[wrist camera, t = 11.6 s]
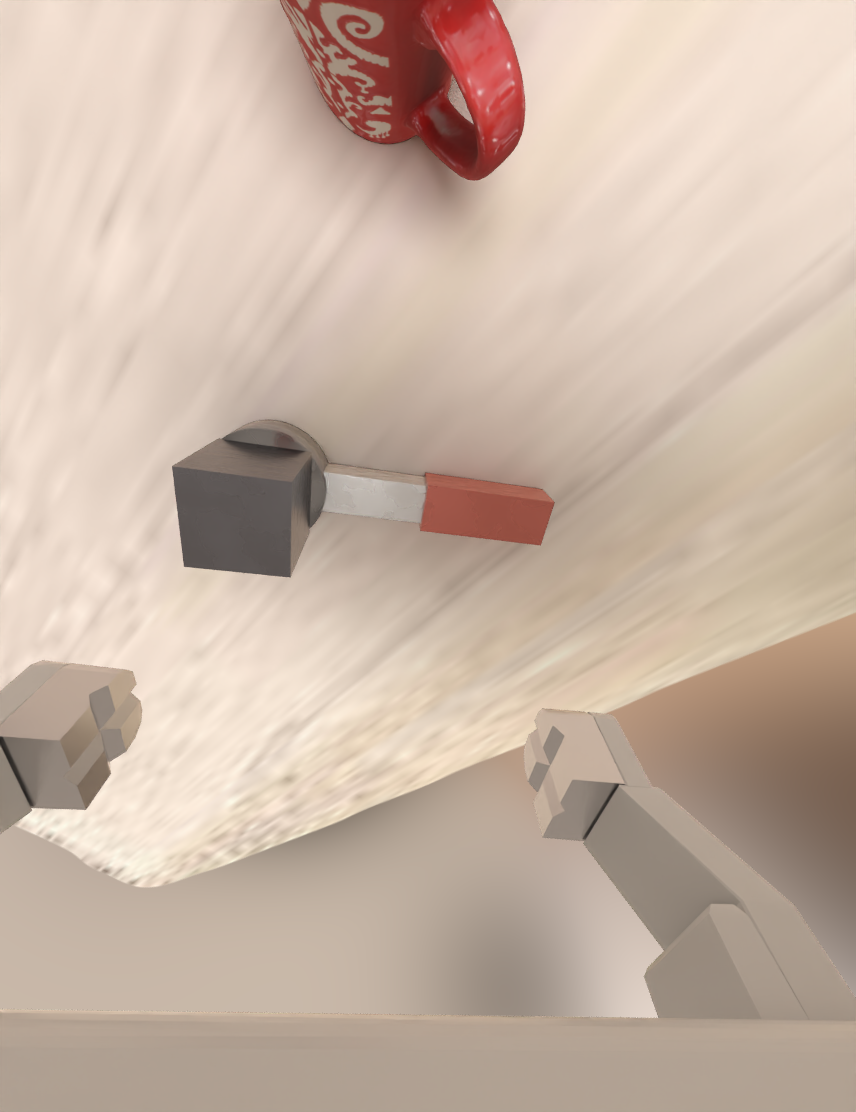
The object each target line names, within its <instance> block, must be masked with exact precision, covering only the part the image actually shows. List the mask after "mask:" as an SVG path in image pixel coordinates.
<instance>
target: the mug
mask: <svg viewBox="0 0 856 1112" xmlns="http://www.w3.org/2000/svg"><path fill="white" fill-rule="evenodd" d="M280 2H281V5H282V7H283V9H284V11H285V13H286V15H287V17H288V19H289V21H290V24H291V26H292V28H293V31H294V33H295V35H296V37H297V39H298V42H299V44H300V46H301V49H302V51H303V53H304V56H305V58H306V60H307V63H308V65H309V68H310V70H311V73H312V75H313V78H314V80H315V82H316V84H317V86H318V88H319V90H320V92H321V94H322V96H323V98H324V99H325V101H326V103H327V104H328V106H329V107H330V109H331V110H332V112H333V113H334V114H335V115H336V116H337V118H338V119H339V120H340V121H341V122H342V123H343V124H344V125H345V126H346V127H348V128H349V129H350V130H352V131H353V132H354V133H355V134H357V135H359V136H361V137H363V138H365V139H367V140H370V141H373V142H378V143H385V144H393V143H398V142H402V141H405V140H408V139H410V138H412V137H413V136H415V135H418V136H419V137H420V138H421V139H422V140H423V142H424V143H425V144H426V146H427V147H428V148H429V149H430V150H431V151H432V152H433V153H434V154H435V155H436V156H437V157H438V158H439V159H440V160H441V161H442V162H443V163H445V164H446V165H447V166H448V167H449V168H450V169H452V170H453V171H454V172H456V173H457V174H458V175H460V176H461V177H463V178H465V179H468V180H474V181H475V180H480V179H482V178H484V177H486V176H488V175H489V174H490V173H492V172H493V171H494V170H495V169H496V168H497V167H498V166H499V165H500V164H501V163H502V162H503V161H504V160H505V159H506V158H507V157H508V156H509V155H510V154H511V153H512V152H513V150H514V149H515V147H516V146H517V144H518V142H519V140H520V137H521V135H522V131H523V126H524V119H525V95H524V87H523V81H522V75H521V71H520V67H519V63H518V59H517V56H516V52H515V49H514V45H513V43H512V40H511V37H510V35H509V32H508V30H507V28H506V26H505V24H504V22H503V20H502V17H501V15H500V13H499V11H498V9H497V7H496V6H495V4H494V2H493V0H280ZM453 77H454V78H455V80H456V82H457V84H458V86H459V88H460V90H461V92H462V94H463V96H464V99H465V101H466V104H467V107H468V110H469V112H470V114H471V117H472V120H473V123H474V125H473V124H472V123H471V122H469V121H468V120H466V119H465V118H464V117H463V116H462V115H461V114H460V113H459V112H458V111H457V110H456V109H455V108H454V107H453V105H452V104H451V102H450V101H449V99H448V97H447V94H448V92H449V89H450V86H451V84H452V81H453Z"/></svg>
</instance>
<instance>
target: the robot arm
mask: <svg viewBox="0 0 856 1112" xmlns="http://www.w3.org/2000/svg"><path fill="white" fill-rule="evenodd" d="M135 686H136V681H135V677H134V674H133V672H132V671H129V670H124V669H116V668H108V667H99V666H91V665H82V664H74V663H62V662H53V661H45V660H42V661H39V662H37V663H34V664H32V665H30V666H29V667H28V668H27V669H25V670H24V671H23V672H22V673H21V674H20V675H18V676H17V677H16V678H15V679H14V680H13V681H11V682H10V683H9V684H8V685H7V686H6V687H5V688H3V689H2V690H1V691H0V834H1V833H2V832H4V831H5V830H6V829H8V828H9V827H11V826H12V825H13V824H15V823H16V822H17V821H19V820H20V819H22V818H23V817H24V816H26V815H27V814H28V813H30V812H31V811H32V809H31V808H49V809H80V810H86V809H87V807H88V806H89V805H90V803H91V802H92V800H93V799H94V797H95V796H96V794H97V793H98V792H99V790H100V789H101V787H102V786H103V784H104V783H105V781H106V780H107V779H108V777H109V776H110V774H111V770H110V761H112V760H113V759H115V758H116V757H118V756H120V755H121V754H123V753H124V752H126V751H127V749H128V748H129V746H130V745H131V743H132V742H133V740H134V739H135V737H136V734H137V731H138V729H139V726H140V723H141V718H142V707H141V702H140V700H139V699H138V698H136V697H135V696H134V695H133V694H132V693H131V691H132V689H133V688H134V687H135ZM535 723H536V727H537V730H535V731H534V732H532V733H531V734H529V735H528V738H527V741H526V744H525V750H524V764H525V772H526V776H527V780H528V782H529V783H530V785H531V786H532V787H533V788H534V789H535V790H536V791H537V792H538V793H537V796H536V798H535V800H534V803H533V804H534V808H535V812H536V815H537V819H538V823H539V827H540V831H541V834H542V837H544V838H555V839H566V840H578V841H584V843H583V844H584V845H585V846H586V848H587V849H588V851H589V852H590V853H591V854H592V856H593V857H594V858H595V860H596V861H597V862H598V864H599V865H600V866H601V868H602V869H603V870H604V872H605V873H606V874H607V876H608V877H609V878H610V880H611V881H612V882H613V883H614V885H615V886H616V888H617V889H618V890H619V892H620V893H621V894H622V896H623V897H624V898H625V900H626V901H627V902H628V904H629V905H630V906H631V907H632V909H633V910H634V911H635V913H636V914H637V915H638V917H639V918H640V919H641V921H642V922H643V923H644V925H645V926H646V927H647V929H648V930H649V931H650V933H651V934H652V935H653V936H654V938H655V939H656V941H657V942H658V943H659V944H660V946H661V947H662V948H663V950H664V952H663V953H662V954H661V955H660V956H659V957H658V958H657V959H656V960H655V961H654V962H653V963H652V964H651V965H650V966H649V967H648V968H647V971H646V973H645V975H644V978H645V981H646V983H647V986H648V989H649V992H650V995H651V998H652V1001H653V1003H654V1006H655V1009H656V1012H657V1015H658V1018H622V1017H548V1016H543V1017H542V1016H475V1015H474V1016H473V1015H401V1014H399V1015H398V1014H395V1015H394V1014H327V1013H326V1014H325V1013H324V1014H323V1013H322V1014H321V1013H253V1012H250V1013H249V1012H179V1011H178V1012H177V1011H103V1010H33V1009H32V1010H31V1009H0V1112H856V997H855V996H854V995H853V993H852V991H851V990H850V988H849V987H848V985H847V984H846V982H845V981H844V979H843V978H842V977H841V975H840V973H839V972H838V970H837V969H836V967H835V966H834V964H833V963H832V961H831V960H830V958H829V957H828V955H827V954H826V952H825V951H824V949H823V948H822V946H821V945H820V943H819V942H818V940H817V939H816V937H815V936H814V934H813V933H812V931H811V930H810V928H809V926H808V925H807V924H806V922H805V920H804V919H803V918H802V916H801V915H800V913H799V911H798V910H797V908H796V907H795V906H794V905H793V904H792V903H791V902H790V901H789V900H788V899H787V898H785V897H784V896H783V895H782V894H781V893H779V891H777V890H776V889H775V888H774V887H773V886H772V885H770V884H769V883H768V882H767V881H766V880H765V879H763V878H762V877H761V876H760V875H759V874H758V873H757V872H755V871H754V870H753V869H752V868H751V867H750V866H749V865H748V864H746V863H745V862H744V861H743V860H742V859H741V858H740V857H738V856H737V855H736V854H735V853H734V852H732V850H730V849H729V848H728V847H727V846H726V845H725V844H723V843H722V842H721V841H720V840H719V839H718V838H716V837H715V836H714V835H713V834H712V833H711V832H709V830H707V829H706V828H705V827H704V826H703V825H702V824H701V823H699V822H698V821H697V820H696V819H695V818H694V817H693V816H691V815H690V814H689V813H688V812H687V811H686V810H684V809H683V808H682V807H681V806H680V805H679V804H677V803H676V802H675V801H674V800H673V799H672V798H671V797H670V796H668V795H667V794H666V793H665V792H664V791H663V790H662V789H660V788H654V787H652V785H651V783H650V781H649V779H648V778H647V776H646V774H645V772H644V770H643V768H642V766H641V764H640V762H639V761H638V759H637V757H636V755H635V753H634V751H633V749H632V747H631V746H630V744H629V742H628V740H627V738H626V736H625V734H624V733H623V731H622V729H621V727H620V725H619V723H618V721H617V720H616V718H615V717H613V716H612V715H611V714H602V713H591V712H588V713H586V712H581V711H569V710H556V709H544V708H542V709H541V710H540V711H539V712H538V714H537V716H536V718H535Z"/></svg>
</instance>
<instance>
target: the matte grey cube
mask: <svg viewBox="0 0 856 1112" xmlns="http://www.w3.org/2000/svg"><path fill="white" fill-rule="evenodd" d="M312 453H313V452H309V451H302V450H295V449H288V448H281V447H274V446H267V445H260V444H253V443H246V442H239V441H232V440H225V439H217V440H215V441H214V442H212V443H210V444H209V445H207V446H205V447H204V448H202V449H200V450H198V451H197V452H195V453H193V454H192V455H190V456H188V457H187V458H185V459H183V460H182V461H180V462H178V463H177V464H175V465H173V466H172V469H173V477H174V486H175V494H176V502H177V511H178V519H179V528H180V536H181V544H182V553H183V561H184V567H193V568H203V569H213V570H223V571H232V572H242V573H252V574H262V575H272V576H282V577H291V575H292V572H293V570H294V568H295V565H296V563H297V561H298V558H299V556H300V554H301V551H302V549H303V547H304V544H305V542H306V539H307V537H308V535H309V532H310V506H311V479H312Z"/></svg>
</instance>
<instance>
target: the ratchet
mask: <svg viewBox="0 0 856 1112" xmlns="http://www.w3.org/2000/svg"><path fill="white" fill-rule="evenodd" d="M223 439H225V440H232V441H239V442H246V443H253V444H260V445H267V446H274V447H281V448H288V449H295V450H302V451H309V452H313V453H312V479H311V506H310V528H311V527H312V526H313V524H314V523H315V522H316V521H317V519H318V517H319V516H320V514H321V511H325V512H333V513H341V514H349V515H357V516H365V517H373V518H381V519H389V520H397V521H405V522H413V523H419V524H420V531H427V532H435V533H443V534H452V535H460V536H468V537H476V538H485V539H493V540H501V541H509V542H517V543H526V544H534V545H541V543H542V540H543V537H544V533H545V530H546V527H547V524H548V521H549V518H550V515H551V512H552V509H553V506H554V503H555V502H554V501H553V500H552V499H551V498H550V497H549V496H548V495H547V494H546V493H545V492H544V491H543V490H542V489H537V488H530V487H523V486H516V485H509V484H502V483H495V482H488V481H481V480H474V479H467V478H460V477H453V476H446V475H439V474H432V473H425V477H424V476H417V475H410V474H403V473H396V472H389V471H382V470H375V469H367V468H360V467H353V466H346V465H339V464H332V463H328V461H327V459H326V457H325V455H324V453H323V451H322V450H321V448H320V447H319V445H318V444H317V443H316V442H315V441H314V440H313V439H312V438H311V437H310V436H309V435H308V434H306V433H305V432H304V431H302V430H301V429H299V428H297V427H295V426H293V425H291V424H288V423H285V422H281V421H276V420H259V421H254V422H251V423H248V424H246V425H244V426H242V427H240V428H238V429H237V430H235V431H234V432H232V433H230V434H229V435H227V436H225V437H224V438H223Z"/></svg>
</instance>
